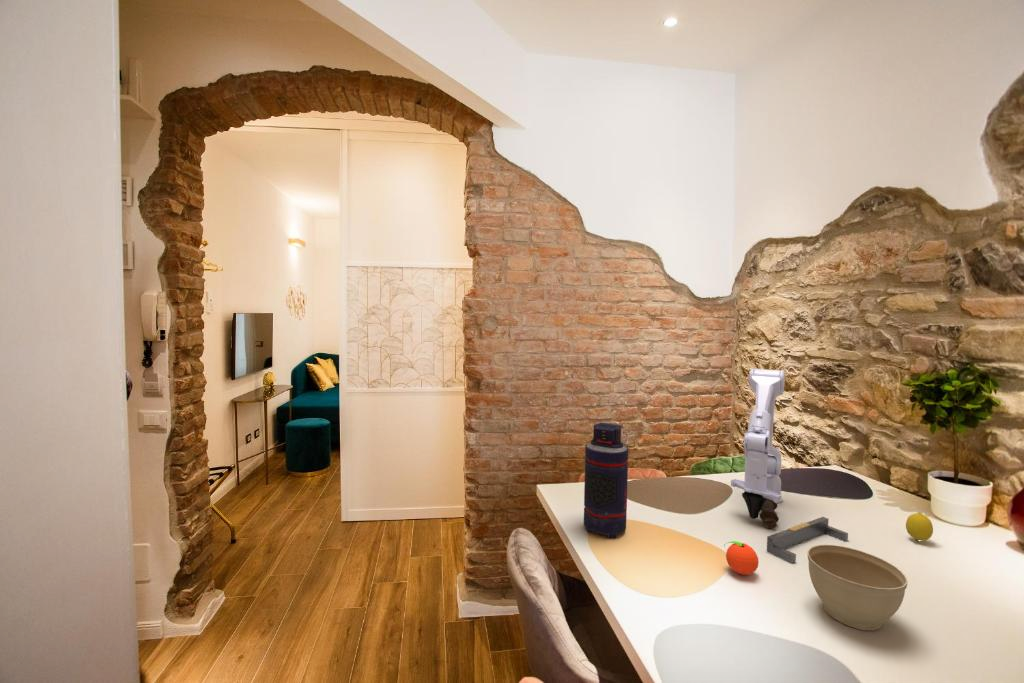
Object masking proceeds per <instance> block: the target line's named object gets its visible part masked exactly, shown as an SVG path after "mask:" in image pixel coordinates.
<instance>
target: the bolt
mask: <svg viewBox="0 0 1024 683" xmlns="http://www.w3.org/2000/svg"><path fill="white" fill-rule="evenodd" d="M778 507H779V505H778V503H775V502H774V501H773V500H770V499H767V500H766V501H765V503H764V504H763V506H762V508H761V510H760V512H759V517H760V519H761V522H762V523H763V525H764V526H765V527H766V528H768V529H774V528H775V527H777V523H778V522H779V520H780V519H779V515H778V514H777V512H776V509H777V508H778Z"/></svg>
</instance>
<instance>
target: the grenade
mask: <svg viewBox="0 0 1024 683" xmlns="http://www.w3.org/2000/svg"><path fill="white" fill-rule="evenodd" d="M622 427H623V425H622V424H616V423H609V422H602V421H601V422H599V423H596V424H594V425H593V437H592V439H591V440H590V441H589V442H587V443H586V444H585V448H584V449H585V450H584V454H585V455H584V457H585V458H584V488H583V489H584V490H583V491H584V492H583V493H584V495H583V496H584V497H583V526H584V527H585V530H586V531H587V533H590V532H593V533H596V534H600V535H606V536H607V537H608V539H616V538H617V535H620V534H622V533H624V532H625V531H626V529H627V511H628V509H627V507H628V479H629V478H628V475H629V462H628V461H629V447H628V444H629V436H628V432H627V431H626V430H625V429H622ZM623 433H625V435H626V442H625V441H624V437H623Z"/></svg>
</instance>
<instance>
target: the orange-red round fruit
mask: <svg viewBox="0 0 1024 683" xmlns="http://www.w3.org/2000/svg"><path fill="white" fill-rule="evenodd" d="M727 543H728V544H729V543H730V544H731V543H732V544H731V545H730V546H728V548H727V550H726V553H725V558H726V559H725V560H726V561H727V564H728V566H729V568H730V569H731V570H732V571H733V572H735V573H736V574H739V575H742V576H749V575H752V574H753V573H755V572H756V570H757V569H758V568H759V567H758V566H759V562H760V561H759V557H758V553H756V551H755V549H753V548H752V546H750V545H748V544H747V543H744V542H740V541H734V540H732V541H731V540H730V541H728V542H727ZM725 546H726V544H724V545H723V547H725Z"/></svg>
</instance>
